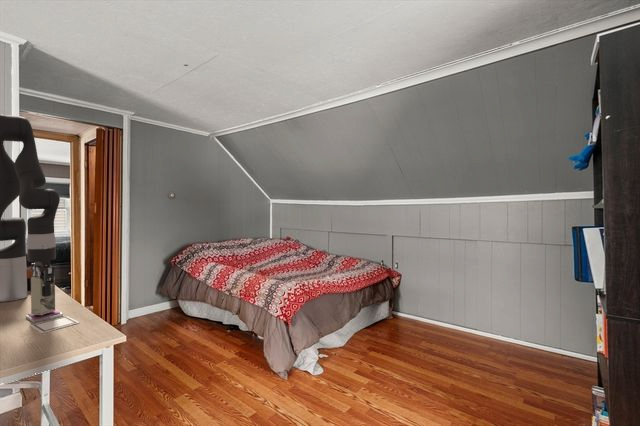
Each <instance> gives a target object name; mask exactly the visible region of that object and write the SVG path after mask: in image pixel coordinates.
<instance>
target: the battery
mask: <svg viewBox="0 0 640 426" xmlns="http://www.w3.org/2000/svg"><path fill="white" fill-rule="evenodd" d="M31 278H32V270H31V267H28V268H27V292H29V291H30V292H31Z"/></svg>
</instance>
